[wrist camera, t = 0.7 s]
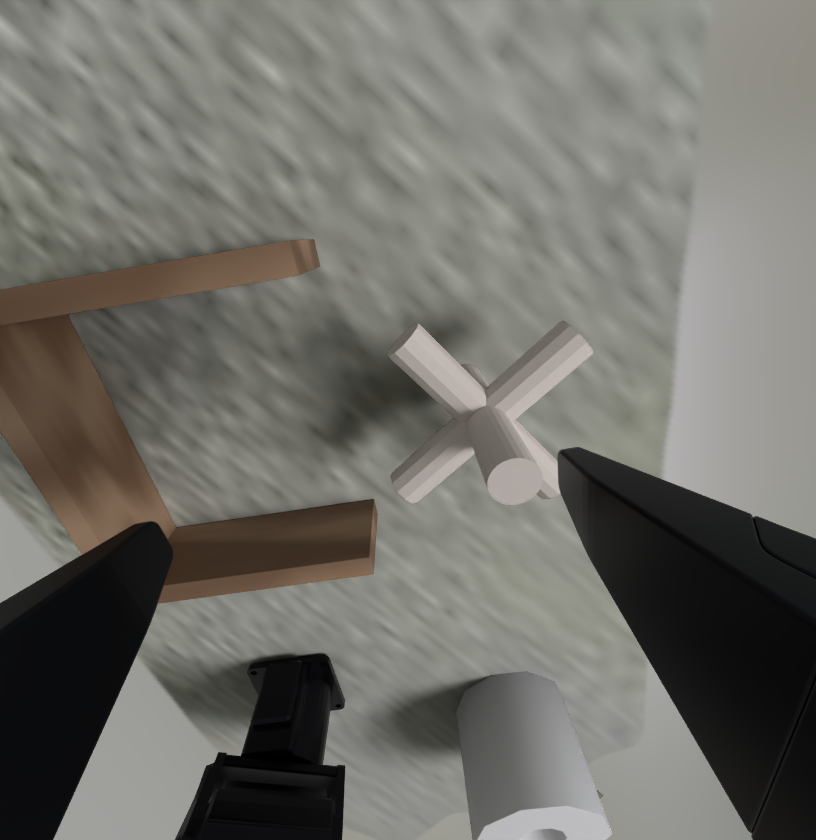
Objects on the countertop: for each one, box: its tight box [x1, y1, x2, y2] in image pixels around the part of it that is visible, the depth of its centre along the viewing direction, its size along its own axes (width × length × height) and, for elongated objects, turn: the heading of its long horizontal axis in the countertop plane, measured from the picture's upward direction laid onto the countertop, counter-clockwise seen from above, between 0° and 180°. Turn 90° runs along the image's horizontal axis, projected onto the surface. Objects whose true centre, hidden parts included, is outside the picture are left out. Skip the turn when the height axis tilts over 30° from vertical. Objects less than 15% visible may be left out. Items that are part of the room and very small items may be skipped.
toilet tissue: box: [456, 672, 612, 840], centre depth 32 cm, size 9×13×9 cm
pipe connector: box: [387, 321, 593, 505], centre depth 17 cm, size 10×10×10 cm
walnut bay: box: [0, 239, 377, 603], centre depth 20 cm, size 16×14×5 cm
